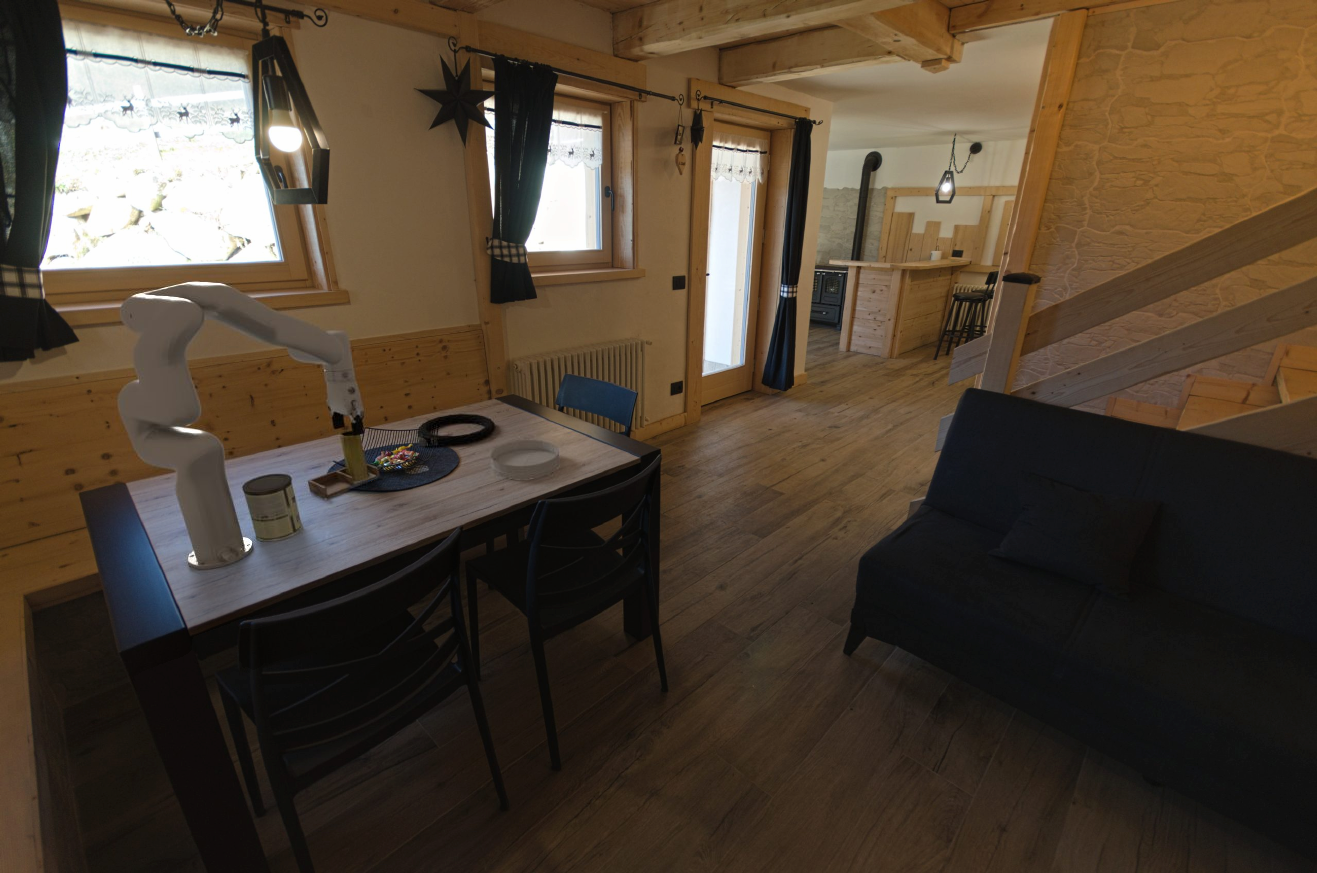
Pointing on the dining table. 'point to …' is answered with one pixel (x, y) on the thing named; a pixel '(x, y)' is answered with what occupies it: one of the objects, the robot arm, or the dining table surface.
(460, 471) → the dining table surface
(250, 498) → the coffee can
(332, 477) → the wooden compartment tray
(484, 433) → the cable lock
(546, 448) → the dish
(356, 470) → the vase
